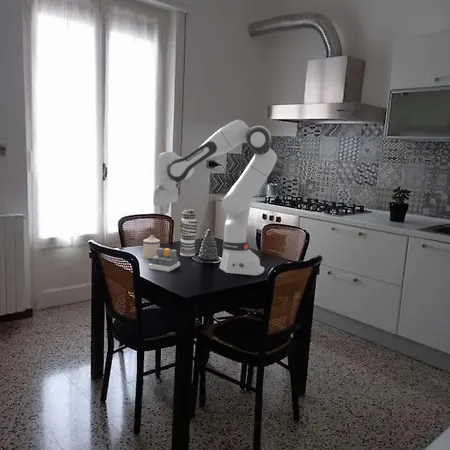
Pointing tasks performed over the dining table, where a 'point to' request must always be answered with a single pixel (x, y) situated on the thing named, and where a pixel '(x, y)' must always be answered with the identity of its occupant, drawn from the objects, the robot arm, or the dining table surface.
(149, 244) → the teacup with lid
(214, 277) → the dining table surface
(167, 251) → the breaker handle
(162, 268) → the slab with raised knobs
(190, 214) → the decorative candle
